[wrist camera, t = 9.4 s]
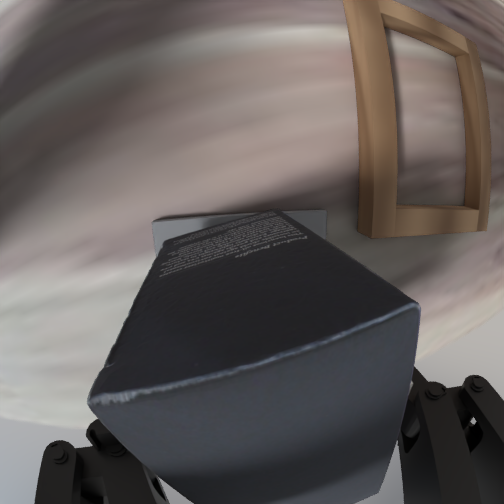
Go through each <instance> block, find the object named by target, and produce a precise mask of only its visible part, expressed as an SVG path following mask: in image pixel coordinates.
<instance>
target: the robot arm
mask: <svg viewBox="0 0 504 504" xmlns="http://www.w3.org/2000/svg"><path fill="white" fill-rule="evenodd" d="M473 417H474V418H475V420H476V421H477V422H476V423H475V425H474V424H472V423H471V422H470V421H471V420H472V418H473ZM86 437H87V438H88V440H89V441H90V442H91V444H92V445H93V446H90V447H83V448H74V446H73V445H71V444H70V443H69V442H66V441H63V440H61V441H60V440H59V441H54V442H52V443H50V444H49V445H48V446H47V447H46V449H45V451H44V454H43V458H42V462H41V467H40V473H39V478H38V484H37V490H36V497H35V504H170V503H169V501H168V499H167V497H166V494H165V492H164V490H163V487H162V485H161V482H160V480H159V478H158V476H157V475H156V474H155V473H154V472H152V471H151V470H150V469H149V468H148V467H147V466H145V465H144V464H143V463H142V462H141V461H140V460H139V459H138V458H137V457H135V456H134V455H133V454H132V453H131V452H130V451H129V450H128V449H127V448H126V447H125V446H124V445H123V444H122V443H121V442H120V441H119V440H118V439H117V438H116V437H115V436H114V435H113V434H112V433H111V432H110V431H109V430H108V429H107V428H106V427H105V426H104V425H103V424H102V422H101V421H100V420H99V419H96V420H95V421H94V422H92V423H91V424H90V425H89V427H88V429H87V432H86ZM397 440H398V446H399V453H400V461H401V471H402V480H403V493H404V504H504V401H503V399H502V398H501V397H500V396H499V394H498V393H497V392H496V391H495V390H494V388H493V387H492V386H491V385H490V383H489V382H488V381H487V380H486V379H484V378H483V377H481V376H479V375H471V376H468V377H467V378H466V379H465V381H464V383H463V385H462V386H459V387H452V388H446V387H445V386H444V385H443V384H441V383H438V382H428V381H427V380H426V379H425V378H424V377H423V375H422V374H421V373H420V372H419V371H418V370H417V369H416V368H415V367H414V368H413V374H412V379H411V384H410V389H409V394H408V399H407V403H406V407H405V412H404V416H403V420H402V424H401V427H400V431H399V434H398V438H397Z"/></svg>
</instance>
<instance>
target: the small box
mask: <svg viewBox="0 0 504 504" xmlns="http://www.w3.org/2000/svg"><path fill="white" fill-rule="evenodd" d="M420 315H421V307H420V305H419V303H418V302H416V301H414V300H413V299H411V298H410V297H408V296H407V295H405V294H404V293H403V292H401V291H400V290H399V289H397V288H396V287H394V286H393V285H391V284H390V283H388V282H387V281H385V280H384V279H382V278H381V277H380V276H378V275H377V274H376V273H374V272H373V271H371V270H370V269H368V268H367V267H365V266H364V265H363V264H361V263H360V262H358V261H357V260H355V259H354V258H352V257H351V256H349V255H348V254H346V253H345V252H343V251H341V250H340V249H339V248H337V247H336V246H334V245H332V244H331V243H330V242H328V241H327V240H325V239H324V238H322V237H321V236H319V235H318V234H316V233H315V232H313V231H312V230H310V229H308V228H307V227H305V226H304V225H302V224H301V223H299V222H298V221H296V220H295V219H293V218H292V217H290V216H288V215H287V214H285V213H284V212H282V211H281V210H279V209H272V210H268V211H265V212H261V213H256V214H253V215H249V216H245V217H243V218H239V219H235V220H231V221H228V222H224V223H221V224H217V225H214V226H211V227H207V228H204V229H201V230H197V231H194V232H190V233H187V234H184V235H180V236H177V237H174V238H170V239H167V240H165V241H164V242H163V244H162V245H161V248H160V250H159V252H158V254H157V257H156V259H155V260H154V262H153V264H152V267H151V269H150V270H149V272H148V274H147V276H146V278H145V280H144V282H143V284H142V286H141V288H140V290H139V292H138V294H137V296H136V298H135V299H134V302H133V305H132V307H131V309H130V311H129V315H128V317H127V318H126V320H125V321H124V323H123V327H122V329H121V331H120V333H119V335H118V337H117V339H116V342H115V344H114V345H113V347H112V348H111V351H110V353H109V355H108V357H107V359H106V362H105V365H104V368H103V369H102V370H101V371H100V372H99V374H98V376H97V378H96V379H95V381H94V383H93V386H92V388H91V390H90V392H89V395H88V398H87V404H88V406H89V408H90V409H91V411H92V412H93V413H94V414H95V415H96V416H97V418H98V419H99V420H100V421H101V422H102V424H103V425H104V426H105V427H106V428H107V429H108V430H109V431H110V432H111V433H112V434H113V435H114V436H115V437H116V438H117V439H118V440H119V441H120V442H121V443H122V444H123V445H124V446H125V447H126V448H127V449H128V450H129V451H130V452H131V453H132V454H133V455H134V456H135V457H137V458H138V459H139V460H140V461H141V462H142V463H143V464H144V465H145V466H147V467H148V468H149V469H150V470H151V471H152V472H154V473H155V474H156V475H157V476H158V477H159V478H161V479H162V480H163V481H164V482H166V483H167V484H168V485H170V486H171V487H172V488H173V489H175V490H176V491H177V492H179V493H180V494H181V495H183V496H184V497H186V498H187V499H188V500H190V501H191V502H192V503H194V504H354V503H356V502H359V501H361V500H364V499H365V498H368V497H370V496H372V495H375V494H377V493H378V492H379V490H380V488H381V485H382V483H383V480H384V477H385V474H386V472H387V469H388V466H389V463H390V460H391V457H392V454H393V451H394V448H395V445H396V441H397V438H398V434H399V431H400V427H401V424H402V420H403V416H404V412H405V407H406V403H407V399H408V394H409V389H410V384H411V379H412V374H413V368H414V363H415V356H416V349H417V342H418V333H419V325H420Z"/></svg>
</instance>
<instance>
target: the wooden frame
mask: <svg viewBox="0 0 504 504" xmlns="http://www.w3.org/2000/svg"><path fill="white" fill-rule="evenodd" d="M343 4H344V9H345V15H346V20H347V26H348V32H349V38H350V44H351V52H352V59H353V68H354V77H355V87H356V99H357V113H358V134H359V208H358V229H357V231H358V232H360V233H361V234H363V235H365V236H367V237H369V238H371V239H373V238H387V237H402V236H416V235H431V234H446V233H461V232H477V231H487V223H488V214H489V204H490V189H491V135H490V121H489V111H488V103H487V95H486V89H485V83H484V77H483V72H482V67H481V63H480V58H479V54H478V50H477V46H476V44H475V43H473V42H472V41H470V40H469V39H467V38H466V37H464V36H463V35H461V34H459V33H458V32H456V31H454V30H453V29H451V28H449V27H447V26H445V25H444V24H442V23H440V22H438V21H436V20H434V19H432V18H430V17H428V16H426V15H424V14H422V13H420V12H418V11H416V10H414V9H411V8H409V7H407V6H405V5H402V4H400V3H397V2H395V1H392V0H343ZM384 27H386V28H389V29H392V30H395V31H398V32H401V33H403V34H406V35H408V36H411V37H413V38H416V39H418V40H421V41H423V42H425V43H427V44H430V45H432V46H434V47H436V48H438V49H440V50H442V51H444V52H446V53H448V54H450V55H452V56H454V57H455V58H456V63H457V68H458V74H459V79H460V86H461V93H462V100H463V109H464V121H465V136H466V186H465V202H464V206H446V205H396V202H397V169H398V157H397V125H396V109H395V98H394V88H393V79H392V71H391V64H390V58H389V52H388V46H387V40H386V35H385V30H384Z"/></svg>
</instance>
